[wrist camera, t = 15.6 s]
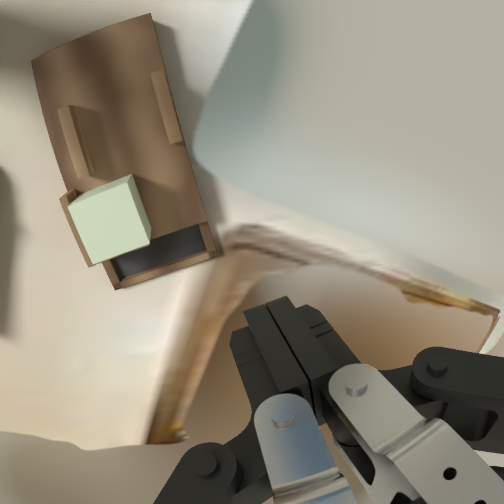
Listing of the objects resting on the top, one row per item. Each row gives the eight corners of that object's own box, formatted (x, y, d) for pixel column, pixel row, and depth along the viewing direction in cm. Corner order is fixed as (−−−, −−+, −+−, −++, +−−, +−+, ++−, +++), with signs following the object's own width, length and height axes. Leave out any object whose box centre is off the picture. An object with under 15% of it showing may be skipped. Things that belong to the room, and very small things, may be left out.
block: (100, 246, 31) (92, 264, 27) (79, 195, 29) (67, 206, 25) (151, 227, 32) (149, 243, 28) (132, 173, 29) (126, 182, 25)
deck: (116, 286, 36) (110, 311, 31) (39, 64, 23) (19, 56, 19) (216, 252, 38) (225, 273, 33) (151, 20, 25) (149, 3, 20)
